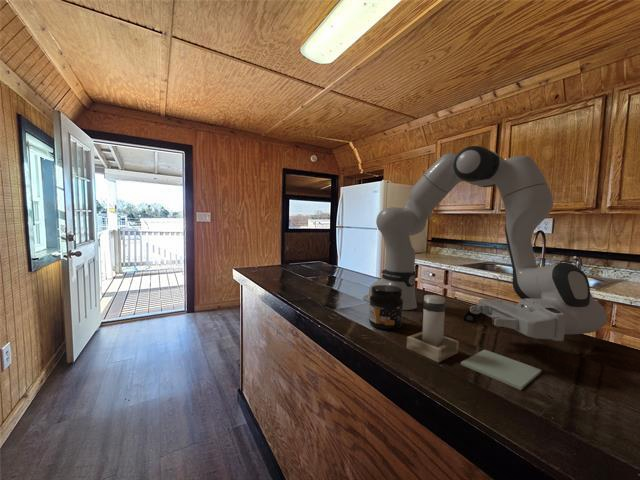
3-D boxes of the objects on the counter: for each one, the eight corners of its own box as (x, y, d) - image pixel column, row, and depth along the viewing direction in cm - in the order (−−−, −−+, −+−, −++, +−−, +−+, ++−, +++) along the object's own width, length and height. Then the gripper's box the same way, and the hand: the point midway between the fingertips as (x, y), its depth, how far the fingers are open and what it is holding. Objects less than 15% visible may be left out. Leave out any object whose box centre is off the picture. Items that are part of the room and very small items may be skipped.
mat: (460, 364, 65) (460, 362, 65) (484, 351, 72) (484, 349, 72) (520, 390, 55) (521, 387, 55) (541, 372, 62) (541, 369, 62)
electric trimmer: (484, 314, 105) (484, 305, 105) (474, 323, 93) (475, 314, 93) (473, 311, 108) (473, 303, 108) (462, 321, 96) (463, 312, 96)
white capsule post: (417, 349, 73) (419, 296, 72) (428, 344, 76) (431, 293, 75) (435, 357, 68) (438, 301, 68) (446, 351, 71) (449, 298, 71)
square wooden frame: (406, 348, 73) (407, 336, 73) (426, 340, 78) (426, 329, 78) (438, 362, 66) (439, 350, 66) (458, 352, 71) (458, 341, 71)
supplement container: (364, 327, 87) (365, 289, 87) (373, 317, 97) (374, 283, 96) (398, 333, 83) (400, 293, 82) (404, 322, 92) (406, 287, 91)
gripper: (507, 294, 82) (460, 293, 82) (571, 316, 62) (509, 315, 61) (506, 315, 82) (460, 314, 82) (569, 344, 62) (508, 344, 62)
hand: (481, 315), depth 71 cm, fingers open, 8 cm apart
